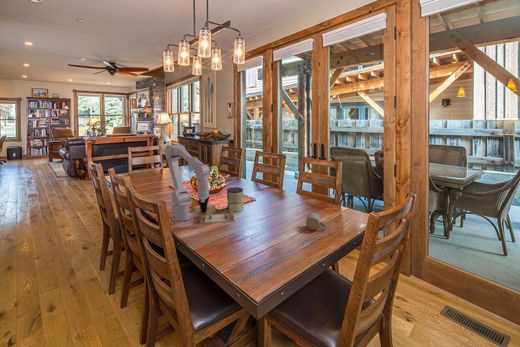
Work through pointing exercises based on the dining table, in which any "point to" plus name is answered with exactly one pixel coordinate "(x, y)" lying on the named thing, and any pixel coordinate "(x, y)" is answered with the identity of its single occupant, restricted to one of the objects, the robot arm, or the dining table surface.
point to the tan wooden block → (209, 210)
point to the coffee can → (235, 199)
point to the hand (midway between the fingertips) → (204, 211)
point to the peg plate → (218, 218)
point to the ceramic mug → (314, 222)
